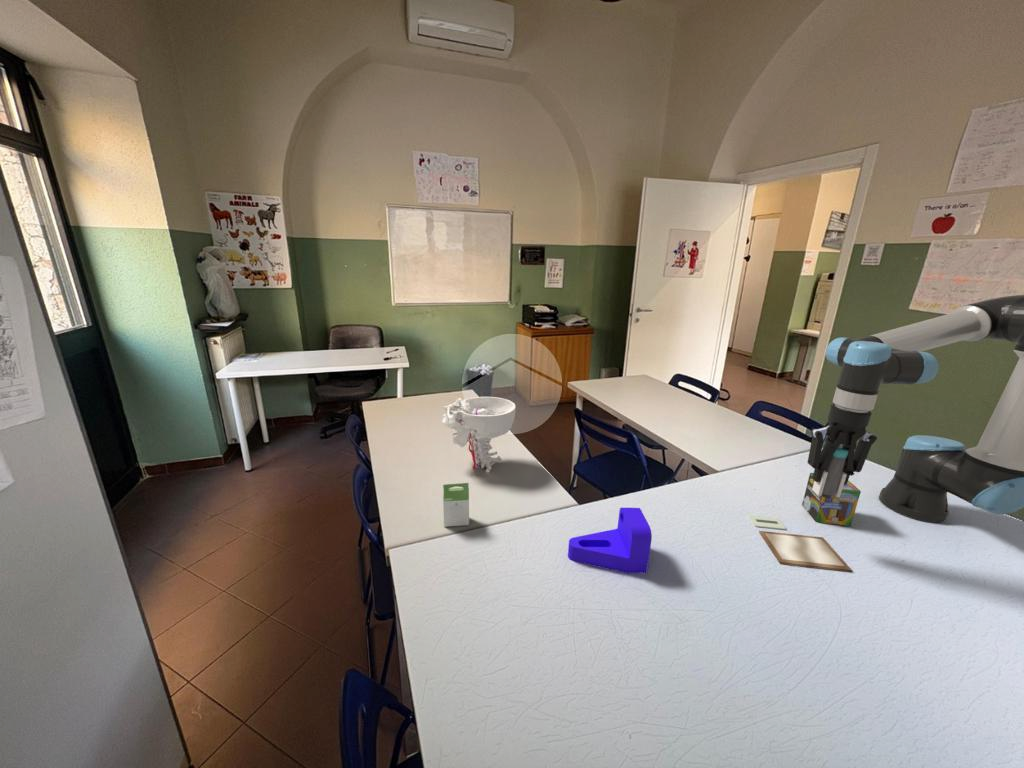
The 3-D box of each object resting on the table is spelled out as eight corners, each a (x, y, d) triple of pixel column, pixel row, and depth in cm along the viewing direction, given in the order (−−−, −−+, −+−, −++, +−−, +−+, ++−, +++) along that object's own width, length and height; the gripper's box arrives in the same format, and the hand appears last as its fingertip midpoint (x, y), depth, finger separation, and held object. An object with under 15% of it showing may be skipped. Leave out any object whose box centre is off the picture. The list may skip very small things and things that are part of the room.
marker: (828, 491, 104) (842, 445, 100) (837, 500, 100) (852, 452, 96) (813, 490, 104) (826, 444, 100) (821, 498, 101) (835, 451, 97)
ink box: (469, 517, 115) (468, 475, 111) (469, 525, 111) (468, 483, 107) (444, 518, 114) (443, 476, 110) (444, 527, 110) (442, 484, 106)
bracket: (632, 542, 106) (638, 504, 103) (646, 573, 96) (652, 532, 92) (564, 541, 106) (567, 503, 102) (571, 572, 95) (574, 531, 92)
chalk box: (851, 527, 114) (866, 481, 109) (814, 522, 116) (828, 477, 111) (834, 508, 122) (847, 465, 118) (800, 504, 124) (812, 461, 120)
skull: (510, 452, 153) (511, 395, 147) (517, 477, 136) (519, 414, 129) (444, 455, 150) (442, 397, 143) (442, 482, 132) (440, 417, 125)
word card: (777, 519, 117) (777, 517, 117) (785, 530, 112) (786, 528, 112) (747, 516, 118) (748, 514, 118) (755, 526, 113) (755, 525, 113)
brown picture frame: (822, 539, 109) (823, 537, 108) (851, 572, 97) (852, 569, 97) (758, 532, 111) (759, 530, 110) (779, 563, 99) (780, 561, 99)
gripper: (879, 404, 97) (852, 488, 104) (804, 399, 100) (783, 482, 107) (902, 415, 90) (872, 505, 97) (822, 410, 93) (798, 498, 100)
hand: (825, 493), depth 102 cm, fingers closed on marker, 3 cm apart
